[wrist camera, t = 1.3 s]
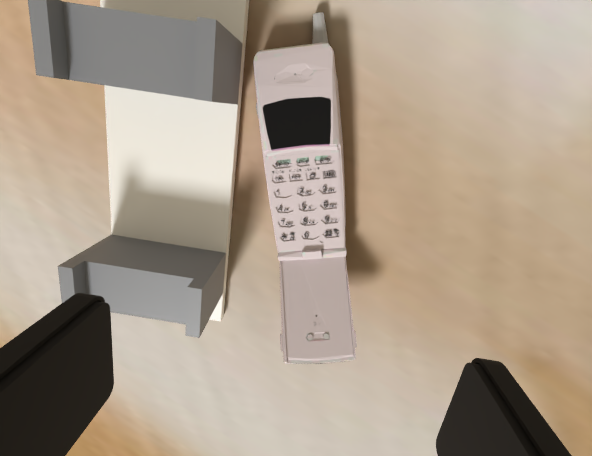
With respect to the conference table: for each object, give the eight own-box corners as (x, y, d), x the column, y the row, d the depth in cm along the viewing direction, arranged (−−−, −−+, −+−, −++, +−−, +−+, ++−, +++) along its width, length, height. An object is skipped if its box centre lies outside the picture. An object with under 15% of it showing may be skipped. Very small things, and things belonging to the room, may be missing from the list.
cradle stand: (107, -24, 23) (18, -81, 16) (249, -3, 23) (219, -52, 16) (121, 298, 32) (67, 349, 25) (223, 315, 31) (197, 370, 25)
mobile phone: (282, 368, 26) (229, 0, 18) (287, 322, 32) (249, 26, 23) (359, 364, 26) (340, -16, 17) (351, 319, 31) (334, 15, 23)
